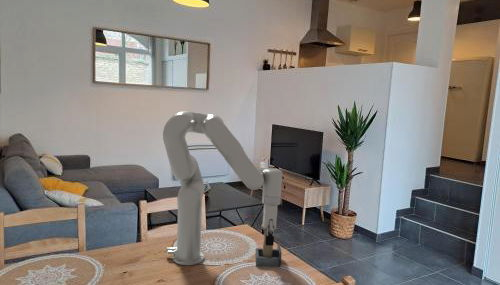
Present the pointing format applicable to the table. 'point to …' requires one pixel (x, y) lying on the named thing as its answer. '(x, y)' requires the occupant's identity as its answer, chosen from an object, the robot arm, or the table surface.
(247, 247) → the table surface
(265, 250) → the handle
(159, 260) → the table surface
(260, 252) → the box
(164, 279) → the table surface
